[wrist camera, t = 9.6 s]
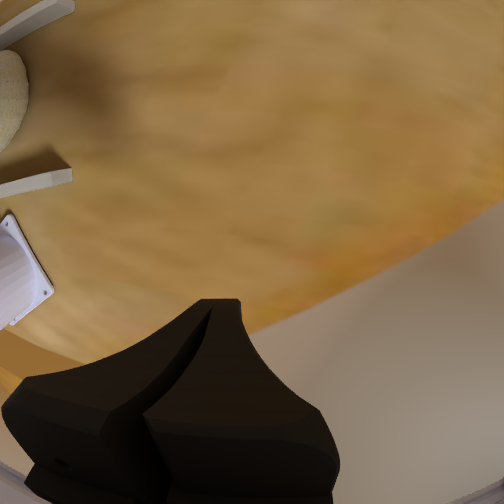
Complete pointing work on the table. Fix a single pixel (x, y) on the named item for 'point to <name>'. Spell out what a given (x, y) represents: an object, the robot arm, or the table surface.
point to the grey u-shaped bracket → (37, 16)
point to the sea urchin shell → (11, 95)
